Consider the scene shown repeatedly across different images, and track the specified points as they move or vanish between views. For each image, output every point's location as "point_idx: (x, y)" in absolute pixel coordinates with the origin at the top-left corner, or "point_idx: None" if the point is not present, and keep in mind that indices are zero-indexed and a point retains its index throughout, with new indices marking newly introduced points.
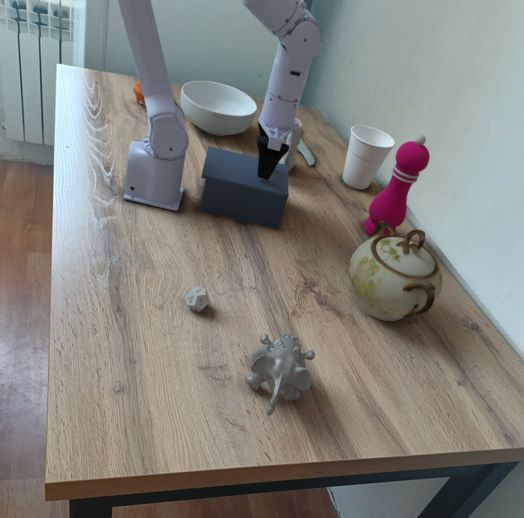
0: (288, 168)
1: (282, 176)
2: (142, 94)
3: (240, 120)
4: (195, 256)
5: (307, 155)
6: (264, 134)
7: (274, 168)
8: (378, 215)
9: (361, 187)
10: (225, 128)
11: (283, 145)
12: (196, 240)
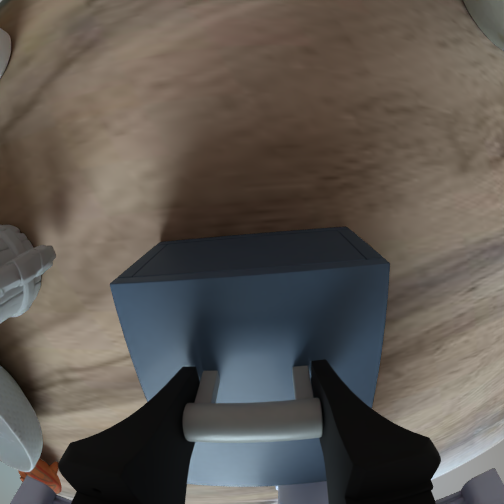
0: (17, 236)
1: (229, 303)
2: (58, 489)
3: None
4: (478, 365)
5: None
6: (177, 495)
7: (349, 389)
8: None
9: (9, 38)
10: (17, 400)
11: (388, 482)
12: (439, 380)
